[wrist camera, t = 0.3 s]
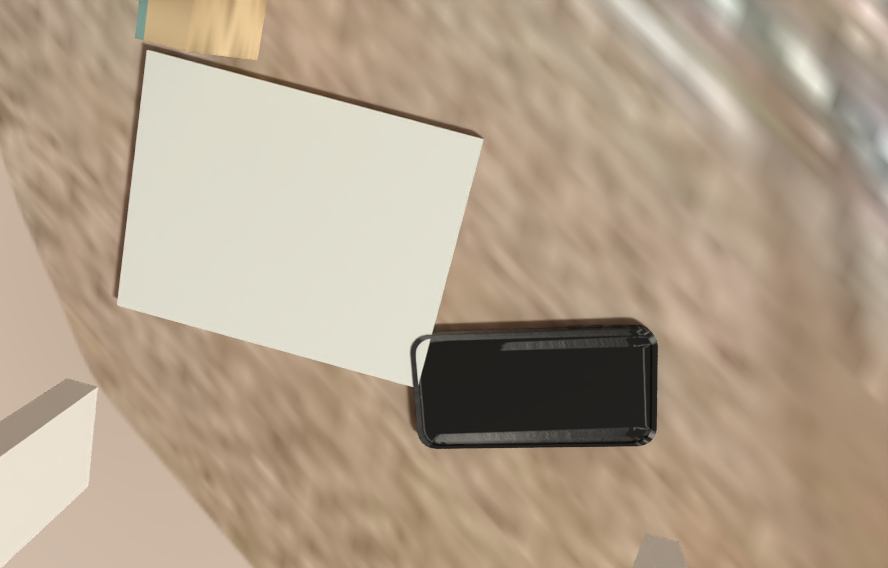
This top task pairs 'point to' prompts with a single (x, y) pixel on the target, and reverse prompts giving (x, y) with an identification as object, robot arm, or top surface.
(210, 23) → the tile
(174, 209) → the mat
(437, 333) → the phone
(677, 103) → the top surface
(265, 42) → the top surface
